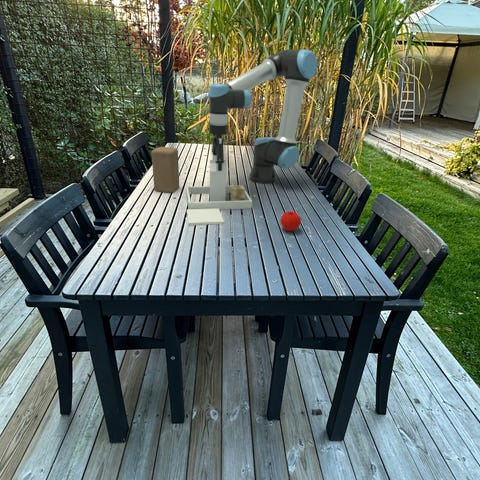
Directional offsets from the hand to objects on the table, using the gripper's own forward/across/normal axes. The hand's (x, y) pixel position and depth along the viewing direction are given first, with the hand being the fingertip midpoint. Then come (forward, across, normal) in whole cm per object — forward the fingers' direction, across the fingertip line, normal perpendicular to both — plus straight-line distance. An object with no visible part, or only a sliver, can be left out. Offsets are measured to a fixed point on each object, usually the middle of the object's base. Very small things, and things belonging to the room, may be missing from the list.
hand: (217, 173), depth 152 cm
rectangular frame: (+13, 0, 0) cm, 13 cm away
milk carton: (+13, 0, 0) cm, 13 cm away
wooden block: (+14, -18, -22) cm, 32 cm away
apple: (+13, +34, +24) cm, 44 cm away
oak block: (+13, +5, +9) cm, 17 cm away
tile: (+13, +19, -8) cm, 24 cm away
